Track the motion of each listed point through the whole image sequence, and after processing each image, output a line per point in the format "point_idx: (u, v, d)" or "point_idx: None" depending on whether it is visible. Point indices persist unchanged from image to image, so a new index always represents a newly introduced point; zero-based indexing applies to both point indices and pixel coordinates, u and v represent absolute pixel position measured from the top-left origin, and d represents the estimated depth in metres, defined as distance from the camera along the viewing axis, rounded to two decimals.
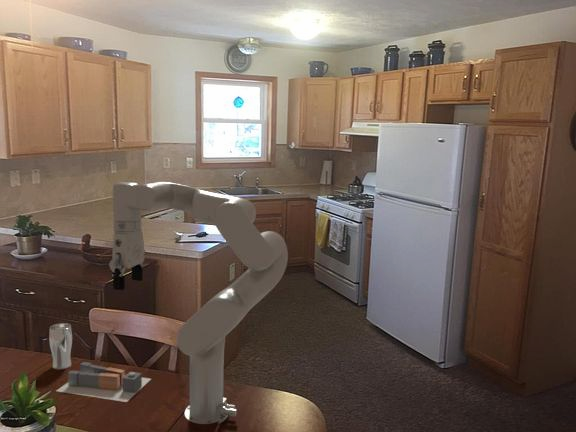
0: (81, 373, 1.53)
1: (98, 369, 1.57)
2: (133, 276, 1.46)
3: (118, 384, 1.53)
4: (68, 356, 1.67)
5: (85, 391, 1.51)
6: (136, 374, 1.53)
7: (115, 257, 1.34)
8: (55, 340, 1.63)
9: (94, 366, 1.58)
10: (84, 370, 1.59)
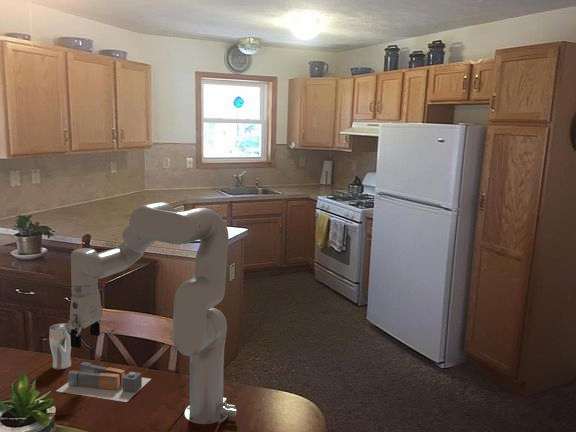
0: (81, 373, 1.53)
1: (98, 369, 1.57)
2: (91, 331, 1.59)
3: (118, 384, 1.53)
4: (68, 356, 1.67)
5: (85, 391, 1.51)
6: (136, 374, 1.53)
7: (72, 319, 1.47)
8: (55, 340, 1.63)
9: (94, 366, 1.58)
10: (84, 370, 1.59)
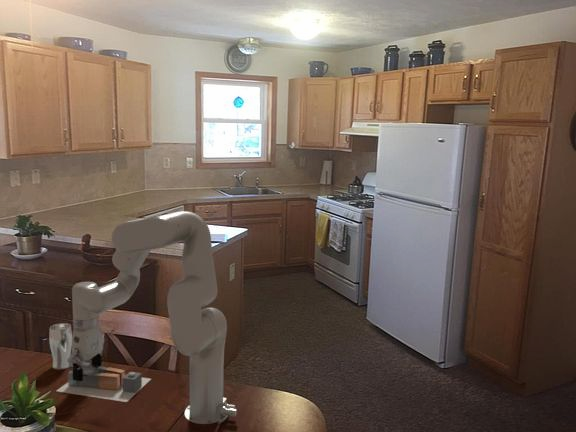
0: None
1: (98, 369, 1.57)
2: (93, 363, 1.61)
3: (118, 384, 1.53)
4: (68, 356, 1.67)
5: (85, 391, 1.51)
6: (136, 374, 1.53)
7: (73, 353, 1.49)
8: (55, 340, 1.63)
9: (94, 366, 1.58)
10: (84, 370, 1.59)
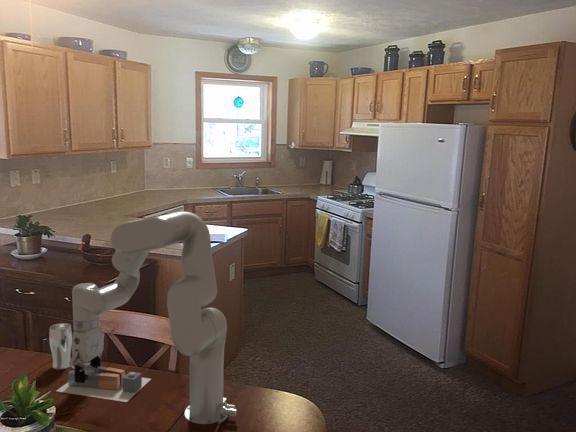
0: None
1: (98, 369, 1.57)
2: None
3: (118, 384, 1.53)
4: (68, 356, 1.67)
5: (85, 391, 1.51)
6: (136, 374, 1.53)
7: (74, 355, 1.49)
8: (55, 340, 1.63)
9: (94, 366, 1.58)
10: None
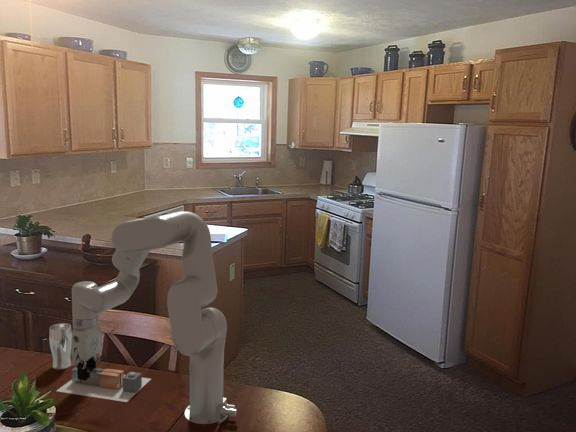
0: None
1: None
2: None
3: (118, 384, 1.53)
4: (68, 356, 1.67)
5: (85, 391, 1.51)
6: (136, 374, 1.53)
7: (75, 355, 1.50)
8: (55, 340, 1.63)
9: (90, 368, 1.57)
10: None
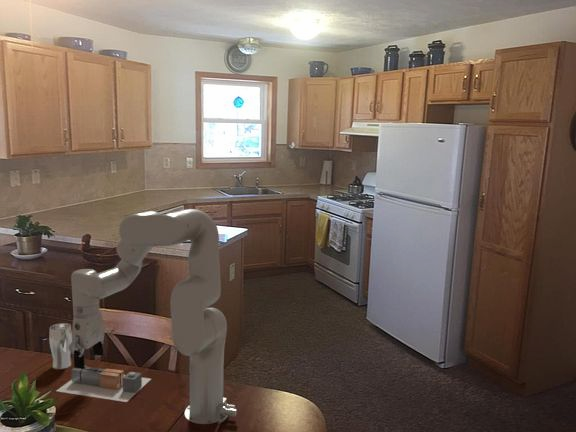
0: (84, 370, 1.55)
1: None
2: (94, 351, 1.60)
3: (118, 384, 1.53)
4: (68, 356, 1.67)
5: (85, 391, 1.51)
6: (136, 374, 1.53)
7: (74, 340, 1.48)
8: (55, 340, 1.63)
9: (90, 368, 1.57)
10: None
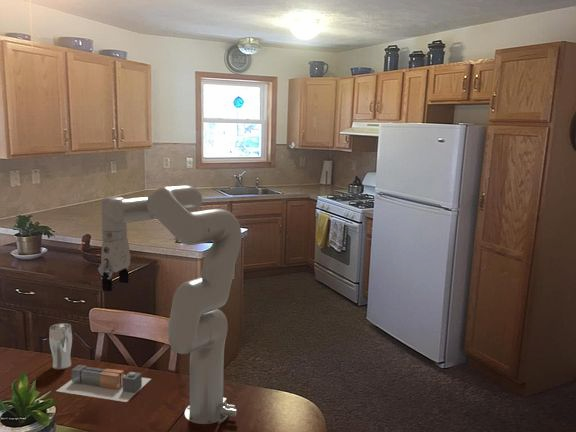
0: (84, 370, 1.55)
1: None
2: (120, 279, 1.65)
3: (118, 384, 1.53)
4: (68, 356, 1.67)
5: (85, 391, 1.51)
6: (136, 374, 1.53)
7: (103, 262, 1.53)
8: (55, 340, 1.63)
9: (90, 368, 1.57)
10: None
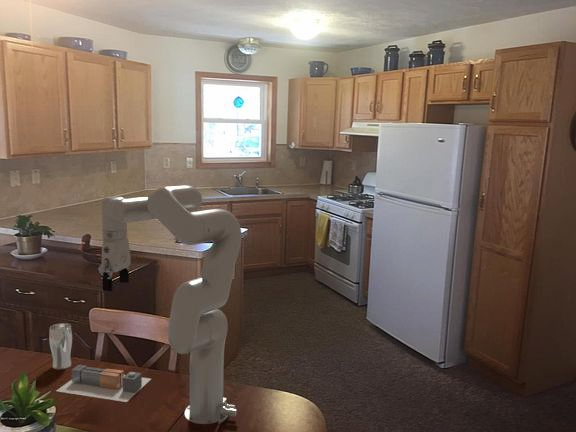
0: (84, 370, 1.55)
1: None
2: (120, 279, 1.65)
3: (118, 384, 1.53)
4: (68, 356, 1.67)
5: (85, 391, 1.51)
6: (136, 374, 1.53)
7: (104, 262, 1.53)
8: (55, 340, 1.63)
9: (90, 368, 1.57)
10: None
